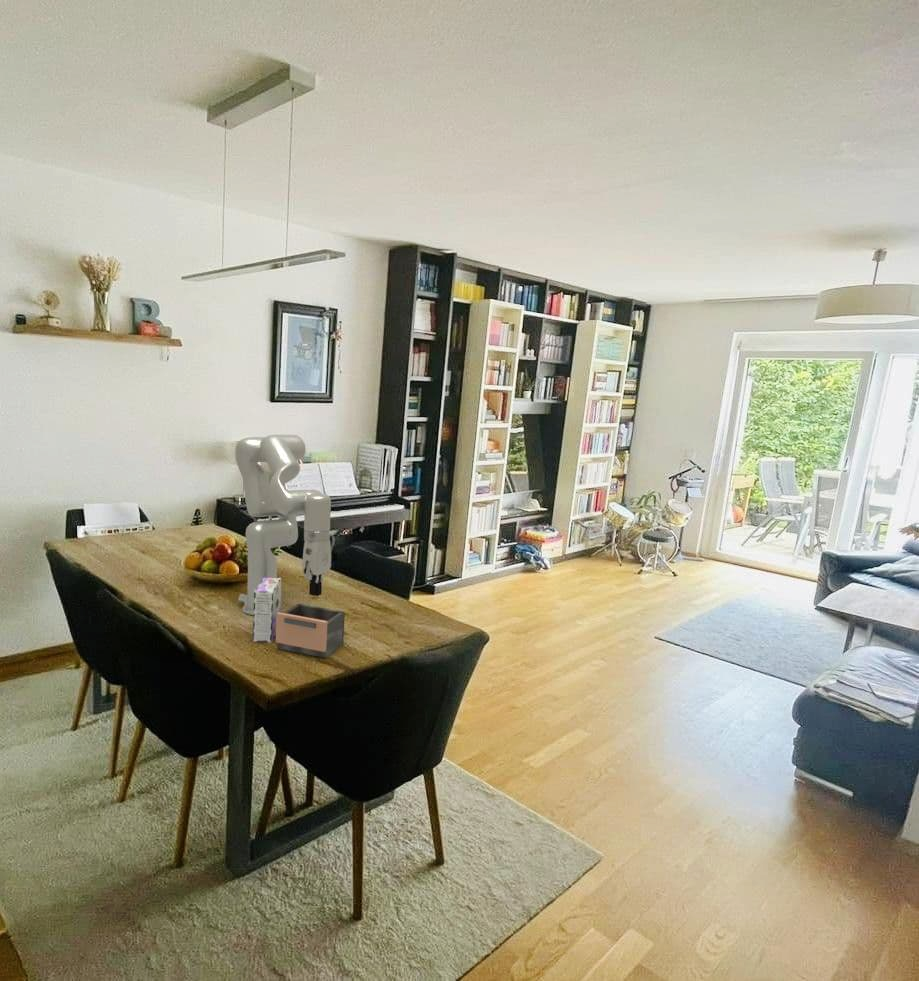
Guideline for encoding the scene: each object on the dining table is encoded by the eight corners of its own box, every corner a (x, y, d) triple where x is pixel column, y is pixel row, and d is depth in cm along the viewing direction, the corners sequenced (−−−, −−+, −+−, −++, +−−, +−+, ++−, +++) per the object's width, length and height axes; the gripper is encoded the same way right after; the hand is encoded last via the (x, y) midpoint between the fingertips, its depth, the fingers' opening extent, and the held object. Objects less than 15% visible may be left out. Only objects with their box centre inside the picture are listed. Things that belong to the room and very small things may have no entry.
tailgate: (274, 643, 182) (275, 614, 181) (277, 640, 184) (278, 612, 182) (323, 652, 178) (324, 623, 177) (326, 650, 180) (327, 621, 178)
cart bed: (277, 648, 185) (278, 615, 183) (297, 634, 195) (298, 603, 194) (326, 658, 181) (327, 624, 179) (343, 643, 191) (344, 611, 190)
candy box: (262, 624, 201) (263, 576, 198) (280, 625, 202) (282, 577, 199) (252, 642, 188) (253, 590, 185) (271, 642, 188) (273, 591, 185)
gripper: (316, 541, 175) (314, 603, 177) (339, 532, 189) (337, 589, 192) (292, 538, 177) (291, 600, 179) (317, 529, 191) (316, 586, 194)
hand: (315, 594), depth 185 cm, fingers closed
